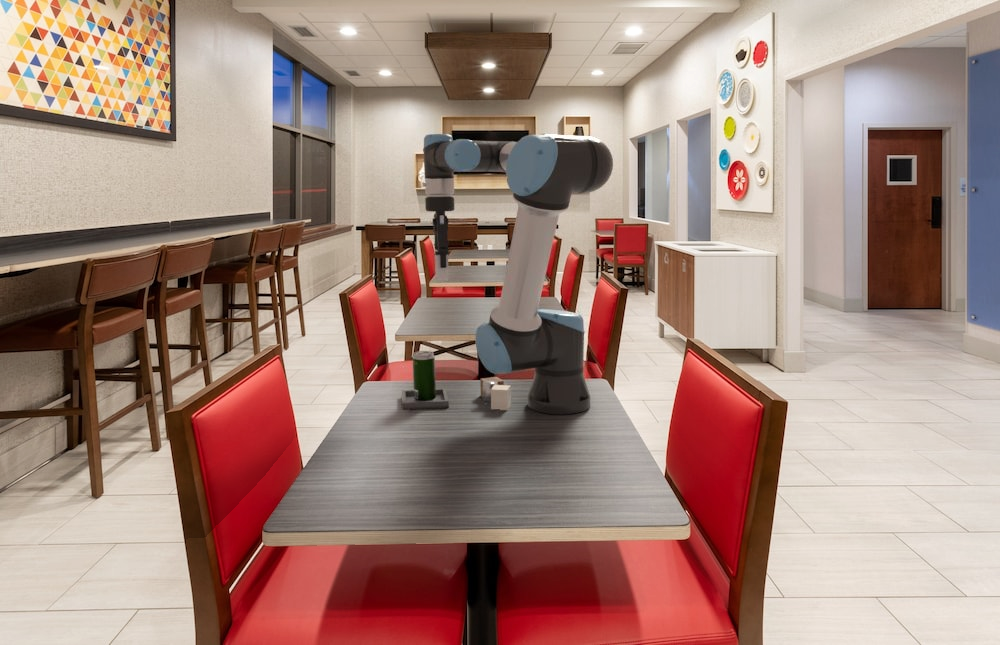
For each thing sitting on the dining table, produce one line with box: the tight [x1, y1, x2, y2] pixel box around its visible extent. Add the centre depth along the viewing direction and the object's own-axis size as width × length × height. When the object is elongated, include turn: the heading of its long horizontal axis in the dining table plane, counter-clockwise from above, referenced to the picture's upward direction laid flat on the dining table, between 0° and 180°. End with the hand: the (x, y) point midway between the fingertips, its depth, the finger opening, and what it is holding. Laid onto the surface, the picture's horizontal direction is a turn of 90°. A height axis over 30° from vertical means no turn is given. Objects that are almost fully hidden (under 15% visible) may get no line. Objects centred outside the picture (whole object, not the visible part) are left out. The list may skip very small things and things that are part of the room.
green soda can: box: [412, 350, 437, 402], centre depth 173 cm, size 5×5×12 cm
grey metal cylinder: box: [482, 381, 498, 405], centre depth 173 cm, size 4×4×5 cm
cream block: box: [490, 384, 512, 411], centre depth 169 cm, size 4×4×5 cm
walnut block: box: [479, 376, 505, 398], centre depth 178 cm, size 4×4×4 cm
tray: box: [401, 387, 450, 411], centre depth 175 cm, size 11×11×2 cm
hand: (441, 277), depth 187 cm, fingers open, 13 cm apart
